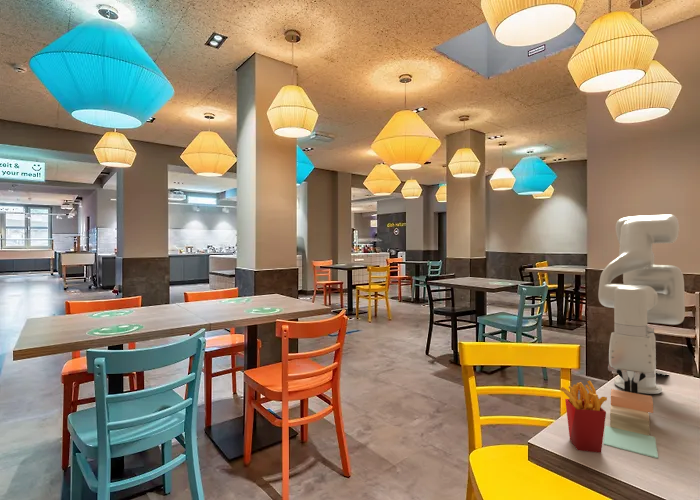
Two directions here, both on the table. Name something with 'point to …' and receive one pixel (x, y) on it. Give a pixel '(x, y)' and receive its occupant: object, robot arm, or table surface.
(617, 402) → the card
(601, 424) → the french fries
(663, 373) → the smartphone
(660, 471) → the table surface
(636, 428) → the sheet
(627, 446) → the mat
